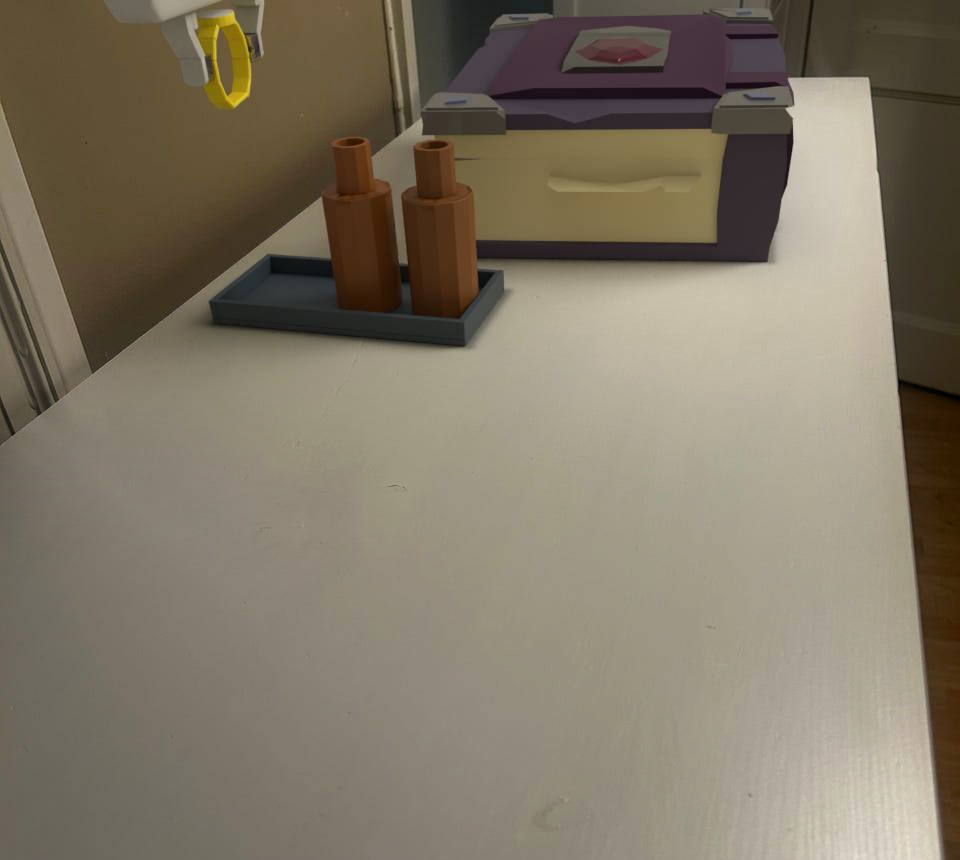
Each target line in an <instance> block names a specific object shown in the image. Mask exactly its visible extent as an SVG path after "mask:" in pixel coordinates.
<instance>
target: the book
mask: <svg viewBox="0 0 960 860" xmlns="http://www.w3.org/2000/svg"><path fill="white" fill-rule="evenodd" d="M773 23H774V18H773V15H772V11H771V9H769V8H766V7H736V8H735V7H734V8H732V7H724V8H722V7H721V8H719V7H718V8H717V7H715V8H714V7H713V8H712V7H710V8H709V10H703V11H702V14H659V15H658V14H657V15H653V14H651V15H607V16H606V15H605V16H604V15H603V16H601V15H599V16H557V17H554V15H553V14H549V13H545V12H543V13H510V14H507V13H506V14H502V15H500V16H499V17H497V18H496V20H495V21H494V22H493V23H492V24H491V25H490V27H489V29H488V31H489V32H488V33H489V35H488V36H487V37H486V39H485V40H484V43H483V46H482V47H479V48H477V50H476V51H475V52H474V54H473V55H472V56H471V58H470V59H468V61H467V62H466V64H465V65H464V67H462V69H461V70H460V71H459V73H457V75H456V76H455V78H454V79H453V80H452V81H451V82H450V84H449V85H448V86H447V87H446V89H445V90H444V91H441V92H437V93H434V94H433V95H432V96H431V97H430V99H429V100H428V102H427V103H426V104H425V105H424V106H423V108H421V110H420V117H421V121H422V130H421V136H433V137H434V140H439V139H440V140H447V141H451V142H452V143H453V144H454V158H455V174H456V182H457V183H461V184H464V185H468V186H470V188H471V189H472V191H473V196H474V215H475V234H476V254H477V258H489V259H490V258H491V259H492V258H493V259H496V258H497V259H500V258H501V259H502V258H503V259H558V260H559V259H560V260H561V259H562V260H564V259H565V260H567V259H571V260H629V261H630V260H632V261H633V260H635V261H636V260H637V261H694V262H695V261H698V262H699V261H700V262H703V261H705V262H708V261H709V262H768V261H769V255H770V247H771V245H772V241H773V238H774V235H775V233H776V230H777V226H778V223H779V220H780V213H781V206H782V200H783V197H784V194H785V192H786V189H787V187H788V182H789V176H790V169H791V162H792V156H793V149H794V144H795V143H794V141H795V140H794V139H795V138H794V112H795V96H794V95H795V94H794V91H793V88H792V86H791V84H790V81H789V71H787V61H786V54H785V51H784V49H783V47H782V45H781V43H780V41H779V32H778V30H777V27H776V26H773Z"/></svg>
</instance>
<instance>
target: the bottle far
mask: <svg viewBox="0 0 960 860" xmlns="http://www.w3.org/2000/svg"><path fill="white" fill-rule="evenodd" d="M412 150H413V160H414V173H415V183H416V185H414V186H410V187H407V188H406V189H405V190H404V191H403V192H402V193H401V194H400V200H401V211H402V219H403V230H404V240H405V250H406V260H407V261H406V262H407V264H408V272H409V282H410V292H411V302H412V310H413V313H414V315H415V316H426V317H438V318H450V319H460V318H461V317H462V315H463V314H464V313H465V311H466V310H467V309H468V307H469V306H470V305H471V304H472V302H473V301H474V300H475V298H476V297H477V296H478V294H479V292H478V273H477V268H478V257H477V254H476V234H475V215H474V196H473V191H472V189H471V188H470V186H468V185H464V184H461V183H457V182H456V174H455V158H454V144H453V143H452V142H451V141H447V140H440V139H439V140H435V139H427V140H423V141H418V142H417V143H415V144H414V145H413V147H412Z"/></svg>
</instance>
